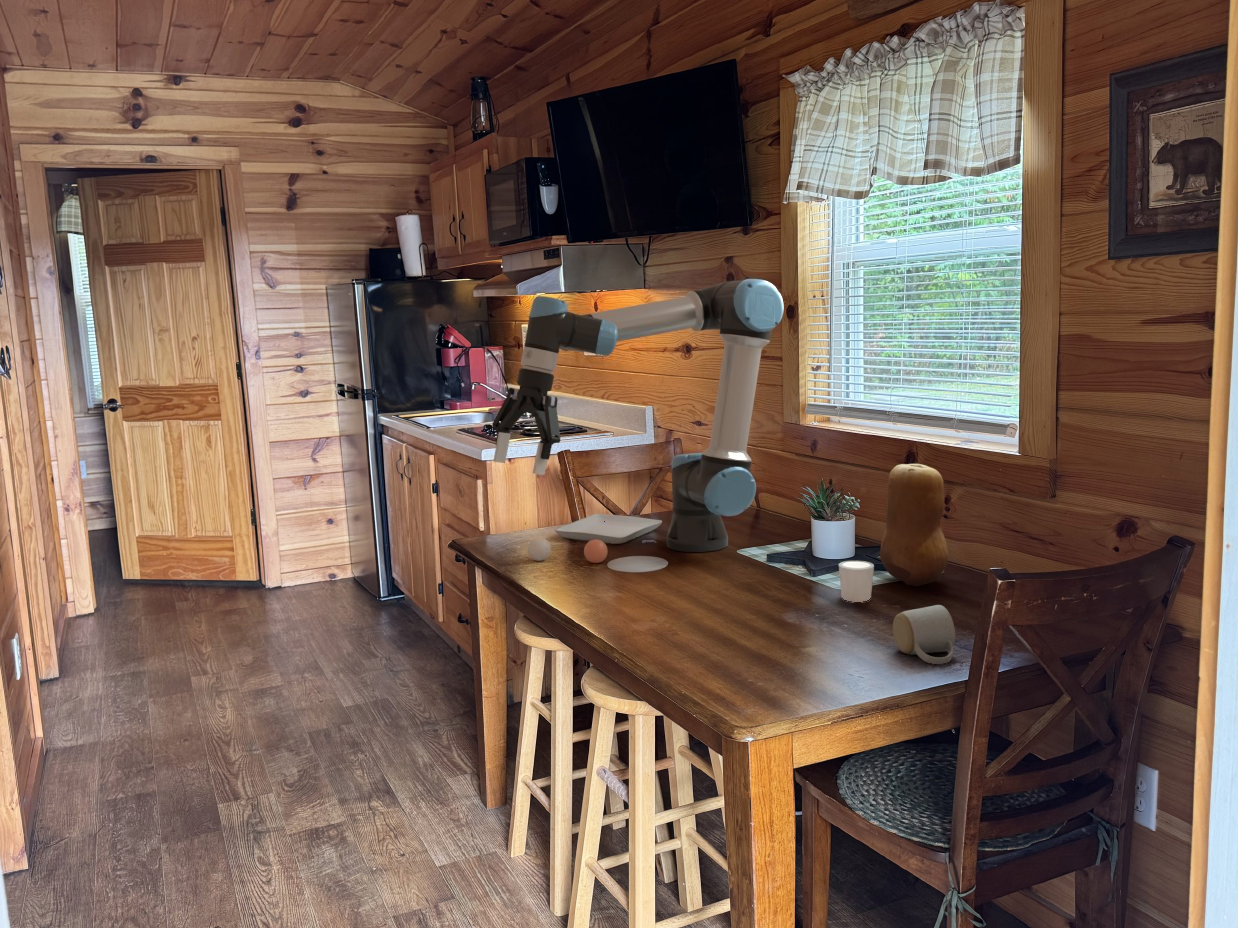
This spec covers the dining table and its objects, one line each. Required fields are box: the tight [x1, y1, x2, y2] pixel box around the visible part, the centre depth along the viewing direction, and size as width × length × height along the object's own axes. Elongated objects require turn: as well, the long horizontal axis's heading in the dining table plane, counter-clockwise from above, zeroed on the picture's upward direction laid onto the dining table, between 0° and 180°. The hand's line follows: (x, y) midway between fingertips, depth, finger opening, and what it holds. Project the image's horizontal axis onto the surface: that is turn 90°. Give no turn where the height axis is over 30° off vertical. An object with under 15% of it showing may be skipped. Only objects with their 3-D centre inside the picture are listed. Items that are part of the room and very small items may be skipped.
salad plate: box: [554, 513, 663, 545], centre depth 261 cm, size 21×21×3 cm
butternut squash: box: [879, 463, 949, 587], centre depth 206 cm, size 14×13×25 cm
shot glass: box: [838, 560, 875, 603], centre depth 198 cm, size 7×7×7 cm
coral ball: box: [583, 539, 609, 564], centre depth 233 cm, size 6×6×6 cm
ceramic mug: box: [892, 604, 956, 665], centre depth 166 cm, size 11×8×8 cm
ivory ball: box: [527, 537, 552, 562], centre depth 237 cm, size 6×6×6 cm
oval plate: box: [607, 555, 669, 573], centre depth 231 cm, size 14×14×1 cm
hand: (518, 468), depth 213 cm, fingers open, 13 cm apart
